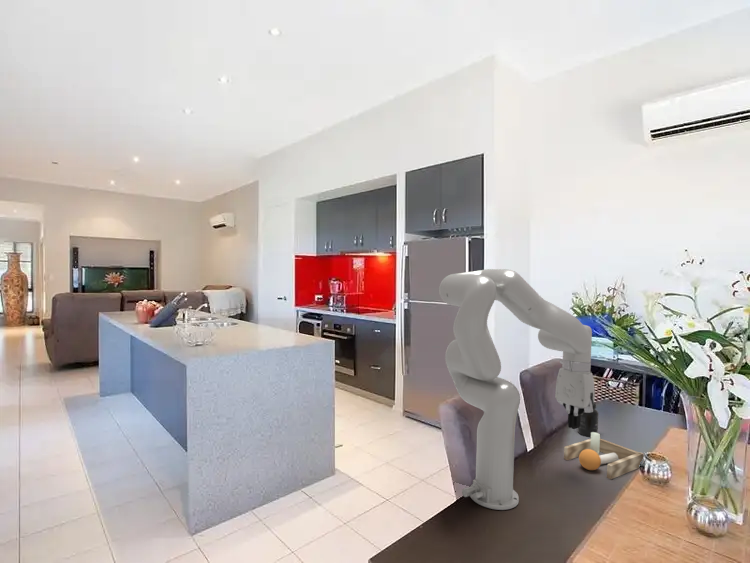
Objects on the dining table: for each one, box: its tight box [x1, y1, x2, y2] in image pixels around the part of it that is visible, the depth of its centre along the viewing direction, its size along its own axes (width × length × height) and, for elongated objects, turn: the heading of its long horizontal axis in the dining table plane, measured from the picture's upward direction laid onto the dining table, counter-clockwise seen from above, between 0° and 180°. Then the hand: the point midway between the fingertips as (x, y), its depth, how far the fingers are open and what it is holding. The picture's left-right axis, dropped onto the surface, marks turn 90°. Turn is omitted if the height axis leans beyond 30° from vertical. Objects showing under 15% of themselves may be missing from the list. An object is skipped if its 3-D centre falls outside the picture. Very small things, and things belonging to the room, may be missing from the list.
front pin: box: [599, 453, 619, 466], centre depth 134 cm, size 3×3×8 cm
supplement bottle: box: [577, 401, 600, 438], centre depth 158 cm, size 7×7×12 cm
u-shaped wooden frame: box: [563, 437, 645, 480], centre depth 134 cm, size 18×15×4 cm
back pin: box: [590, 432, 601, 455], centre depth 136 cm, size 3×3×8 cm
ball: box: [578, 449, 602, 471], centre depth 129 cm, size 6×6×6 cm
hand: (573, 427), depth 125 cm, fingers closed
